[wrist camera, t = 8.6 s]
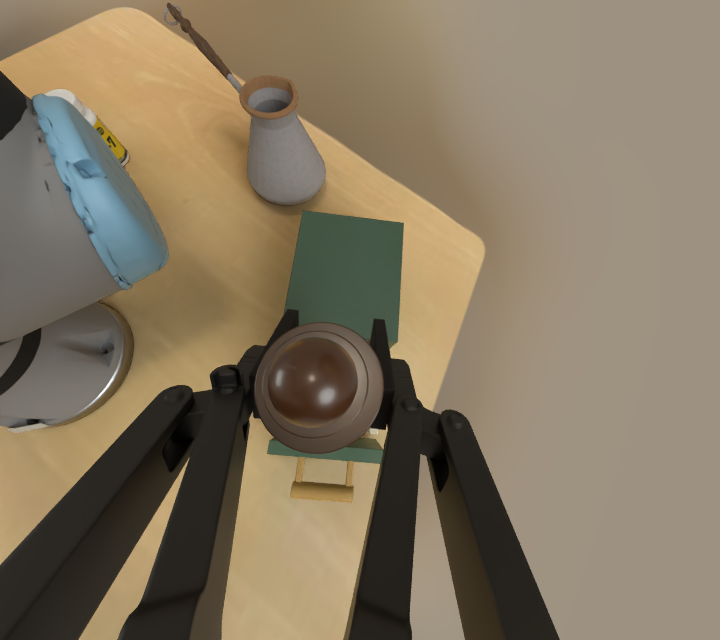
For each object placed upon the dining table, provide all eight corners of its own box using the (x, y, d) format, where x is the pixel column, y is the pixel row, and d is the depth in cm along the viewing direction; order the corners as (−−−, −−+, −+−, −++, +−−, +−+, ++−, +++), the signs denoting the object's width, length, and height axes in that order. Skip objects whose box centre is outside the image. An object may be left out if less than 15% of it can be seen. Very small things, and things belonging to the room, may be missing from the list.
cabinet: (385, 353, 34) (397, 341, 27) (294, 344, 34) (280, 329, 26) (391, 257, 38) (403, 222, 31) (310, 247, 38) (302, 210, 30)
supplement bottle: (109, 176, 39) (49, 120, 31) (90, 159, 39) (26, 99, 31) (137, 159, 40) (85, 100, 32) (118, 142, 41) (63, 80, 33)
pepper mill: (291, 395, 23) (153, 404, 6) (326, 349, 24) (294, 250, 7) (337, 430, 22) (329, 550, 5) (370, 381, 24) (445, 355, 7)
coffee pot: (341, 185, 41) (341, 74, 27) (290, 229, 39) (260, 131, 24) (250, 114, 44) (205, -20, 30) (195, 150, 41) (118, 21, 27)
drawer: (372, 489, 29) (380, 515, 23) (275, 481, 29) (257, 505, 22) (382, 338, 34) (391, 326, 28) (300, 329, 34) (291, 315, 27)
